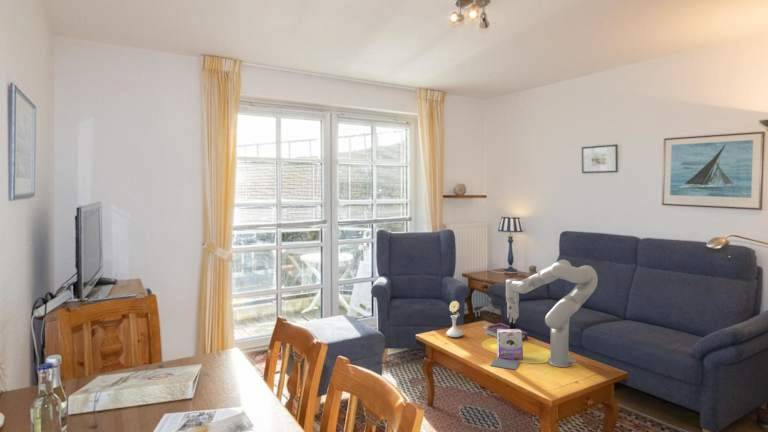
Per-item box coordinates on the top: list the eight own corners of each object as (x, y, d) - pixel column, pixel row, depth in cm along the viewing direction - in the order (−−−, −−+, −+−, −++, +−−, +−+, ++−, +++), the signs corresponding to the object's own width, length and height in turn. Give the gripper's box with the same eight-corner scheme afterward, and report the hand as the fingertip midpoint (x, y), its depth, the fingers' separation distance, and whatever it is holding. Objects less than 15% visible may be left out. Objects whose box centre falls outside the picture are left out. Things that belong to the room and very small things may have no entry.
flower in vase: (443, 334, 306) (442, 298, 304) (458, 332, 309) (457, 297, 308) (451, 340, 293) (451, 303, 292) (467, 338, 297) (466, 301, 295)
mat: (520, 362, 253) (520, 361, 253) (515, 370, 243) (515, 369, 243) (495, 358, 260) (495, 357, 260) (490, 366, 249) (490, 365, 249)
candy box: (521, 355, 263) (520, 328, 262) (523, 359, 257) (522, 331, 257) (497, 355, 265) (496, 328, 264) (498, 359, 259) (498, 331, 258)
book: (483, 333, 307) (483, 326, 307) (501, 329, 314) (501, 322, 314) (509, 344, 284) (508, 336, 284) (527, 340, 292) (527, 332, 291)
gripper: (515, 302, 258) (516, 333, 259) (521, 297, 271) (521, 326, 272) (502, 301, 261) (503, 332, 263) (508, 296, 275) (509, 325, 276)
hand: (512, 329), depth 267 cm, fingers closed
